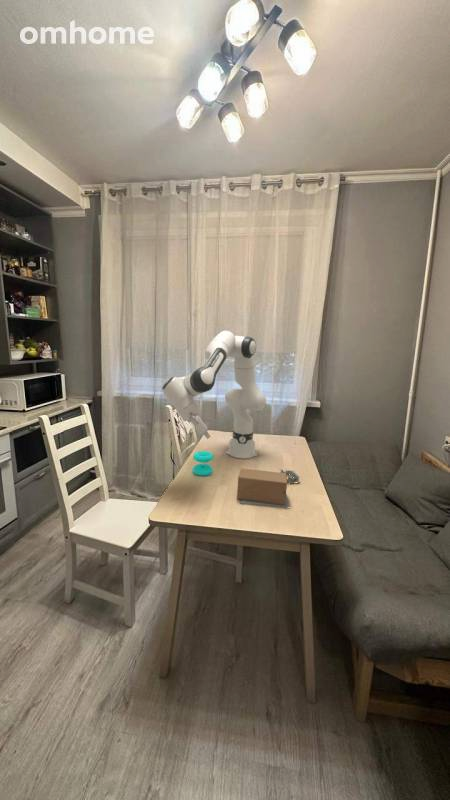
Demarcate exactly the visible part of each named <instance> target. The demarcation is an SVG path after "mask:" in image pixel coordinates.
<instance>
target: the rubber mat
mask: <svg viewBox="0 0 450 800" xmlns="http://www.w3.org/2000/svg"><path fill="white" fill-rule="evenodd" d="M240 504H241V505H247V506H248V505H249V506H261V507H271V508H281V507H290V508H291V506H290V502H289V499H288V494H287V493H286V499H285V505H281V504H273V503H265V502H258V501H250V500H242V499H240Z"/></svg>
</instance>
